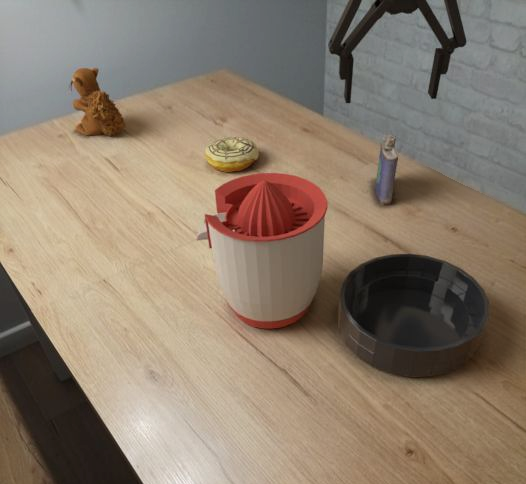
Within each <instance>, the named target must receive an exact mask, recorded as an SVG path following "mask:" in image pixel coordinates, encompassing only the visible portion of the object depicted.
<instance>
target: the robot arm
mask: <svg viewBox="0 0 526 484" xmlns="http://www.w3.org/2000/svg"><path fill="white" fill-rule="evenodd" d="M443 2H444V6H445V10H446V14H447V17H448V21H449V26H450V29H451V33H452V37H450V38H449V36H448V35H447V33H446V32H445V31H446V30H444V28H443V26H442V25H441V23H440V21H439V20H438V18H437V16H436V15H435V14H434V11H433V9H432V7H431V6H430V4H429V3H428V1H427V0H374V1H373V3H372V4H371V6H370V8H369V9H368V11H367V12H366V13H365V15H364V16H363V17H362V19H361V20H360V21H359V22H358V23H357V25H355V27H354V29H353V30H352V31H351V32H350V33H349V35H348V36H347V37H346V39H345V36H346V35H347V32H348V30H349V29H350V26H351V25H352V23H353V20H354V19H355V16H356V14H357V13H358V10H359V8H360V6H361V3H362V0H348V1H347V3H346V6H345V8H344V10H343V11H342V14H341V16H340V18H339V20H338V23H337V25H336V27H335V28H334V30H333V33H332V35H331V37H330V39H329V42H328V44H327V47H328V51H329V54H331V55H336V56H338V57H339V59H338V60H339V62H338V76H339V79H340V81H344V89H343V98H344V102H345V104H351V102H352V101H351V100H352V91H353V90H352V88H353V73H354V60H355V59H354V55H353V51H354V50H355V49H356V48H357V47H358V45H359V44H360V43H361V42H362V40H363V39H364V38H365V37H366V35H367V34H368V33H369V32H370V30H371V29H372V28H374V25H375V24H376V23H377V22H378V21H379V20H380V19H382V17H383V16H384V15H385V14H386V13H387V14H389V15H391V16H393V15H398V14H401V13H403V14H405V15H412V14H413V13H414V12H416V11H417V10H419V12H420V13H421V15H422V16H423V18H424V19H425V21H426V23H427V25H428V26H429V28H430V30H431V31H432V33H433V35H434V36H435V37H436V40H437V41H438V42H439V45H440V46H441V47H435V49H434V56H433V61H432V67H431V72H430V78H429V83H428V88H427V94H428V95H429V97H430V99H431V100H436V99H437V96H438V92H439V87H440V81H441V76H442V75H447V73H448V71H449V67H450V61H451V56H452V54H453V53H454V52H455V50H456V49H458V48H464V47H465V46H466V45H467V37H466V33H465V30H464V25H463V21H462V16H461V13H460V9H459V3H458V1H457V0H443ZM344 39H345V40H344Z"/></svg>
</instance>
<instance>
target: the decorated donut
mask: <svg viewBox="0 0 526 484" xmlns="http://www.w3.org/2000/svg"><path fill="white" fill-rule="evenodd" d="M204 152H205V160H206V162H208V164H209V165H210V166H211V167H212V168H213V169H215V170H217V171H221V172H224V173H231V172H240V171H242V170H246V169H247V168H248V167H250V166H251V165H252V164H253V163H254V162H255V161H256V160H258V159H259V155H260V154H259V148H258V146H257V144H256V142H254V141H252V140H251V139H249V138H247V137H244V136H235V137H231V136H229V137H224V138H221V139H217V140H215V141H212V142H211V143H210V144H209V145H207V146H206V149H205V151H204Z"/></svg>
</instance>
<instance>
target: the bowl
mask: <svg viewBox="0 0 526 484" xmlns="http://www.w3.org/2000/svg"><path fill="white" fill-rule="evenodd" d="M338 297H339V299H338V310H337V325H338V333H339V334H340V336H341V339H342V340H343V343H344V344H345V346H346V347H347V348H348V349H349V350H350V351H351V352H352V353H353V355H355V356H356V357H357V358H358V359H360V360H362V361H363V362H365V363H366V364H368V365H370V366H371V367H373V368H376V369H378V370H381V371H382V372H386V373H389V374H392V375H397V376H403V377H408V378H409V377H410V378H417V377H418V378H419V377H420V378H421V377H422V378H423V377H434V376H439V375H443V374H446V373H450V372H453V371H454V370H456V369H458V368H459V367H461V366H464V365H465V364H466V362H468V361H469V360H470V358H472V357H473V355H475V353H476V351H477V348H478V347H479V344H480V341H481V339H482V336H483V333H484V330H485V329H486V326H487V322H488V321H489V317H490V301H489V299H488V296H487V294H486V292H485V290H484V288H483V287H482V286H481V284H480V283H479V282H478V281H477V280H476V279H475V277H473V276H472V275H471V274H470V273H468V272H467V271H465V270H463V268H461V267H459V266H457V265H455V264H452V263H450V262H448V261H446V260H444V259H440V258H436V257H433V256H429V255H423V254H415V253H393V254H387V255H382V256H377V257H374V258H372V259H371V258H370V259H369V260H367V261H365V262H362V263H360V264H359V265H358V266H356V267H355V268H354V269H351V270H350V272H349V273H348V274H347V276H346V277H345V278H344V280H343V281H342V283H341V286H340V291H339V296H338Z"/></svg>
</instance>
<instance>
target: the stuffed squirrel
mask: <svg viewBox="0 0 526 484" xmlns="http://www.w3.org/2000/svg"><path fill="white" fill-rule="evenodd" d="M98 74H99V68H98V67H92V68H88V67H81V68H78V69H76V70H75V71H74V72H73V75H72V79H71V80H70V83H69V86H68V91H71V92H72V91H73V88H72V86H73V87H74V89H75V91H76V92H77V93H78V95H79V96H80V98H78V99H73V101H72V108H73V109H74V110H75V111H82V112H83V113H84V115H83V117H82V118H81V119H80V123H78V124H77V125H76V126H75V131H76V132H78V133H79V134H82V135H85V136H97V135H103V134H104V135H105V136H107V137H114V136H115V135H118V134H121V133H122V132H123V131H124V130H125V128H126V127H125V126H126V125H127V123H125V121H124V117H123V115H122V114H121V112H120V110H119V108H117V106H116V104H115V102H114V100H112V99H110V93H107V92H106V91H104V90H102V91H101V88H100V85H99V82H98V80H97V78H98Z"/></svg>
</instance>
